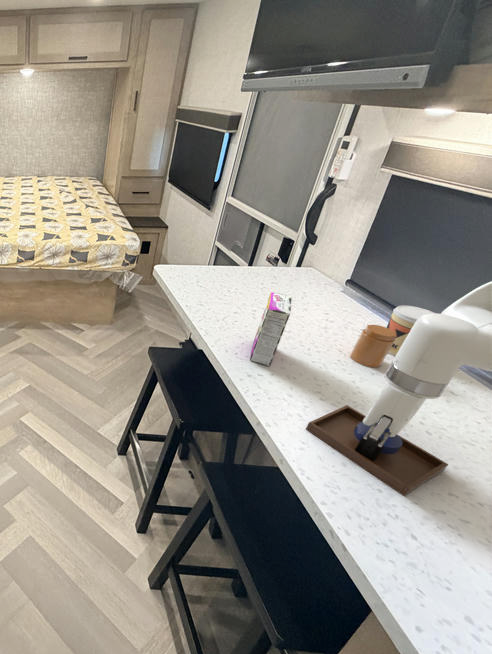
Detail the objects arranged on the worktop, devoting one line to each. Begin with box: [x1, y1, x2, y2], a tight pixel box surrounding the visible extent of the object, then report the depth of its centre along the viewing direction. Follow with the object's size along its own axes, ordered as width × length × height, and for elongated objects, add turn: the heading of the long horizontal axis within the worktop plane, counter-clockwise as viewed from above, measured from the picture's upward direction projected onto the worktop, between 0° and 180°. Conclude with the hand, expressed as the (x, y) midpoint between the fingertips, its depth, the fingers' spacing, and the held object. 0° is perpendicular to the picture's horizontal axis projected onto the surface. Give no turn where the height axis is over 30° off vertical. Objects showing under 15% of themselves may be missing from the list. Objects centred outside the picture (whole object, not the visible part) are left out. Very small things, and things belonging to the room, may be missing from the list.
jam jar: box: [349, 324, 396, 368], centre depth 104 cm, size 6×6×10 cm
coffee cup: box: [385, 305, 435, 357], centre depth 107 cm, size 9×9×12 cm
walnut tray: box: [305, 404, 449, 497], centre depth 80 cm, size 17×13×2 cm
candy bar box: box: [249, 291, 293, 367], centre depth 105 cm, size 11×5×16 cm, turn 145°
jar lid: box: [354, 422, 403, 454], centre depth 79 cm, size 7×7×2 cm
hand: (372, 446), depth 80 cm, fingers closed on jar lid, 6 cm apart
